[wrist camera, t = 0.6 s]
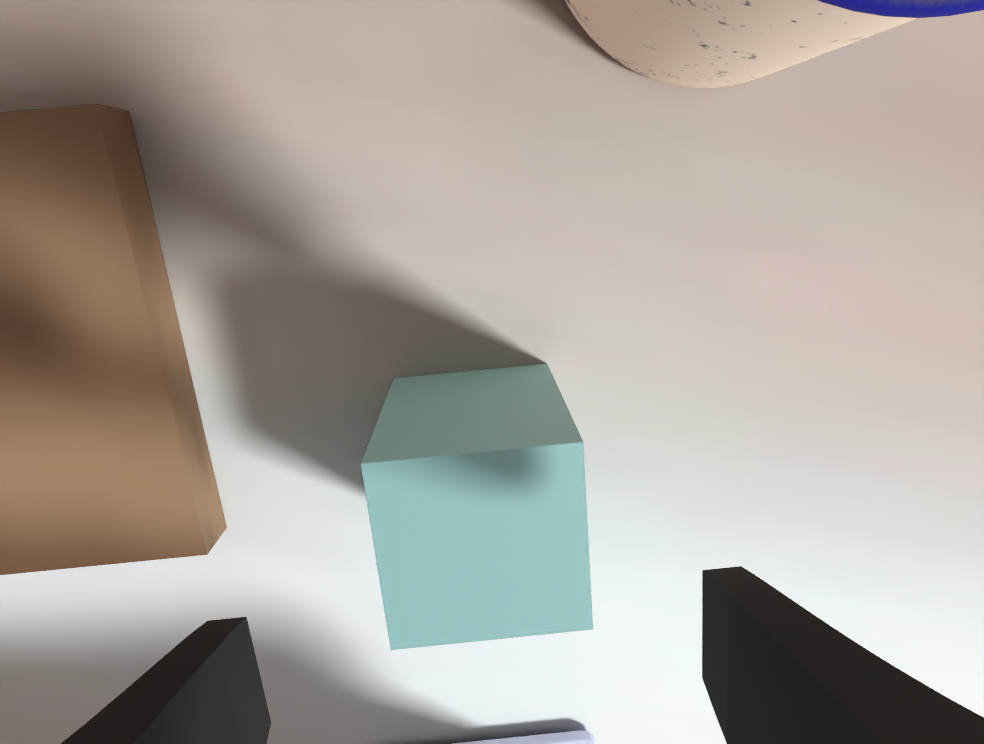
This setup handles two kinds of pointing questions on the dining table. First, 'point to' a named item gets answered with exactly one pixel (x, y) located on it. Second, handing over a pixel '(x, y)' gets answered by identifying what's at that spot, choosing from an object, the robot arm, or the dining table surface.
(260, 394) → the dining table surface
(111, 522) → the walnut slab
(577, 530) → the teal block
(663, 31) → the teacup with lid
